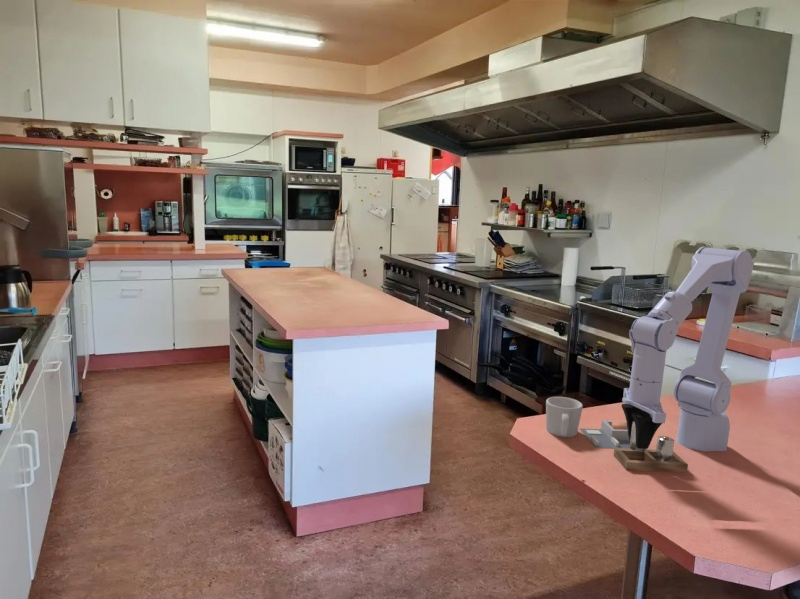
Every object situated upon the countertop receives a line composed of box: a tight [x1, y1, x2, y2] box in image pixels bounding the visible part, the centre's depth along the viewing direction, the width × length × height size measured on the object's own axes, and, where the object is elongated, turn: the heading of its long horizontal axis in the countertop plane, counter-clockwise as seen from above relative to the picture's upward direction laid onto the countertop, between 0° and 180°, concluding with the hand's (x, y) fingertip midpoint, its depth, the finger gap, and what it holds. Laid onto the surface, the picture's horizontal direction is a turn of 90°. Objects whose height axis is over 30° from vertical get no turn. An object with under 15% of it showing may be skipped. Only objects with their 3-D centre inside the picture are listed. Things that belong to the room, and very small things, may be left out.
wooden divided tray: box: [613, 448, 689, 473], centre depth 115 cm, size 12×6×3 cm, turn 91°
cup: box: [545, 396, 584, 438], centre depth 128 cm, size 11×8×8 cm
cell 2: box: [655, 435, 675, 462], centre depth 115 cm, size 3×3×6 cm
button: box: [612, 420, 628, 430], centre depth 129 cm, size 4×4×2 cm
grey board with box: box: [578, 419, 631, 450], centre depth 127 cm, size 11×10×3 cm
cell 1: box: [629, 420, 646, 452], centre depth 114 cm, size 3×3×6 cm
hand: (638, 444), depth 115 cm, fingers closed on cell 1, 3 cm apart
